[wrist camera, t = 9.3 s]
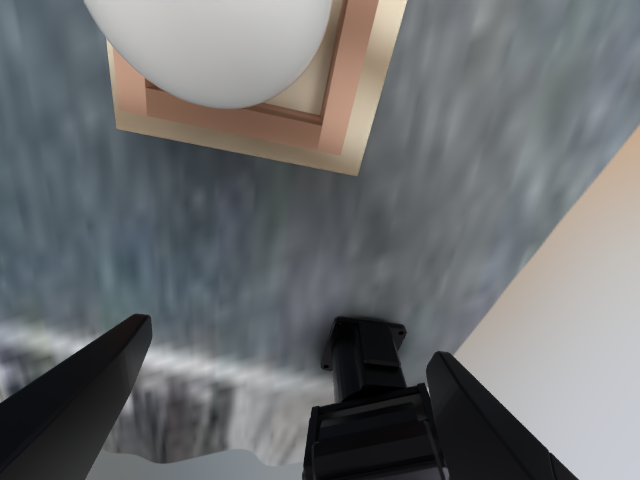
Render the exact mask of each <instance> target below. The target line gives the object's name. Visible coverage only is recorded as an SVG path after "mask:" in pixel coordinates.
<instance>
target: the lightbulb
mask: <svg viewBox="0 0 640 480" xmlns="http://www.w3.org/2000/svg"><path fill="white" fill-rule="evenodd" d="M83 2H84V4H85V5H86V7H87V9H88V11H89V13H90V14H91V16H92V18H93V19H94V21H95V23H96V24H97V26H98V27H99V29H100V30H101V32H102V33H103V34H104V36H105V37H106V38H107V40H108V41H109V42H110V44H111V45H112V46H113V47H114V49H115V50H116V51H117V52H118V53H119V54H120V55H121V56H122V57H123V59H124V60H125V61H126V62H127V63H128V64H130V65H131V66H132V67H133V68H134V69H135V70H136V71H137V72H138V73H140V74H141V75H142V76H143V77H145V78H146V79H147V80H148V81H150V82H151V83H153V84H154V85H156V86H157V87H159V88H160V89H162V90H164V91H165V92H167V93H169V94H171V95H173V96H175V97H177V98H179V99H182V100H184V101H187V102H190V103H193V104H196V105H200V106H204V107H210V108H217V109H239V108H246V107H251V106H254V105H258V104H261V103H263V102H266V101H268V100H270V99H272V98H274V97H276V96H278V95H279V94H281V93H282V92H284V91H285V90H286V89H288V88H289V87H290V86H291V85H292V84H294V83H295V82H296V81H297V80H298V79H299V78H300V76H301V75H302V74H303V73H304V72H305V70H306V69H307V68H308V66H309V65H310V63H311V62H312V60H313V59H314V57H315V55H316V53H317V51H318V49H319V47H320V45H321V43H322V40H323V38H324V35H325V32H326V29H327V26H328V22H329V19H330V14H331V9H332V3H333V0H83Z"/></svg>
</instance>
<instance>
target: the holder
mask: <svg viewBox="0 0 640 480" xmlns="http://www.w3.org/2000/svg"><path fill="white" fill-rule="evenodd" d="M406 3H407V0H333V3H332V9H331V14H330V19H329V22H328V26H327V29H326V32H325V35H324V38H323V40H322V43H321V45H320V47H319V49H318V51H317V53H316V55H315V57H314V59H313V60H312V62H311V63H310V65H309V66H308V68H307V69H306V70H305V72H304V73H303V74H302V75H301V76H300V78H299V79H298V80H297V81H296V82H295V83H294V84H292V85H291V86H290V87H289V88H288V89H286V90H285V91H284V92H282V93H281V94H279V95H278V96H276V97H274V98H272V99H270V100H268V101H266V102H263V103H261V104H258V105H254V106H251V107H246V108H239V109H217V108H210V107H204V106H200V105H196V104H193V103H190V102H187V101H184V100H182V99H179V98H177V97H175V96H173V95H171V94H169V93H167V92H165V91H164V90H162V89H160V88H159V87H157V86H156V85H154V84H153V83H151V82H150V81H148V80H147V79H146V78H145V77H143V76H142V75H141V74H140V73H138V72H137V71H136V70H135V69H134V68H133V67H132V66H131V65H130V64H128V63H127V62H126V61H125V60H124V59H123V57H122V56H121V55H120V54H119V53H118V52H117V51H116V50H115V49H114V47H113V46H112V45H111V44H110V42H109V41H108V40H107V38H106V41H107V50H108V59H109V68H110V77H111V86H112V94H113V103H114V112H115V121H116V129H120V130H125V131H130V132H135V133H140V134H145V135H150V136H155V137H160V138H165V139H170V140H176V141H181V142H186V143H191V144H196V145H201V146H206V147H211V148H216V149H221V150H226V151H231V152H237V153H242V154H247V155H252V156H257V157H262V158H267V159H272V160H277V161H282V162H287V163H292V164H297V165H303V166H308V167H313V168H318V169H323V170H328V171H333V172H338V173H343V174H348V175H353V176H358V172H359V169H360V165H361V162H362V158H363V155H364V151H365V148H366V144H367V141H368V137H369V134H370V130H371V127H372V123H373V119H374V116H375V112H376V109H377V105H378V102H379V98H380V95H381V91H382V88H383V84H384V81H385V77H386V73H387V70H388V66H389V63H390V59H391V56H392V52H393V49H394V45H395V42H396V38H397V35H398V31H399V28H400V24H401V20H402V17H403V13H404V10H405V6H406Z"/></svg>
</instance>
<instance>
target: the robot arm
mask: <svg viewBox="0 0 640 480" xmlns="http://www.w3.org/2000/svg"><path fill="white" fill-rule="evenodd" d="M339 323H342V324H339ZM400 331H401V332H400ZM406 333H407V332H406V329H405V327H404V326H400V325H393V324H385V323H378V322H370V321H362V320H355V319H347V318H337V319H335V321H334V324H333V327H332V330H331V333H330V336H329V339H328V342H327V345H326V349H325V352H324V355H323V358H322V361H321V368H322V369H323V370H329V371H333V382H334V394H335V404H330V405H326V406H321V407H320V406H315V407H312V411H311V418H310V420H309V427H308V434H307V442H306V449H305V457H304V464H303V467H304V470H303V473H302V480H579V479H578V478H576V477H575V476H574V475H573V474H572V473H571V472H570V471H569V470H568V469H567V468H566V467H565V466H564V465H563V464H562V463H561V462H560V461H559V460H558V459H557V458H556V457H555V456H554V455H553V454H552V453H549V451H548V449H547V448H546V447H545V446H543V445H542V443H541V442H540V441H538V440H537V438H536V437H534V435H532V434H531V433H530V432H529V431H528V430H527V429H526V428H525V427H524V426H523V425H522V424H521V423H520V422H519V421H518V420H517V419H516V418H515V417H514V416H513V415H512V414H511V413H510V412H509V411H508V410H507V409H506V408H505V407H504V406H503V405H502V404H501V403H500V402H499V401H498V400H497V399H496V398H495V397H494V396H493V395H492V394H491V393H490V392H489V391H488V390H487V389H486V388H485V387H484V386H483V385H482V384H481V383H480V382H479V381H478V380H477V379H476V378H475V377H474V376H473V375H472V374H471V373H470V372H469V371H468V370H467V369H466V368H465V367H463V366H462V364H460V362H458V361H457V360H456V359H455V358H454V357H453V356H452V355H451V354H450V353H448V352H443V351H437V352H435V353H434V355H433V357H432V359H431V360H430V362H429V364H428V366H427V368H426V375H427V381H428V387H429V393H430V396H429V394H428V391H427V388H426V386H425V383H420V384H417V386H412V387H408V388H407V385H406V382H405V378H404V375H403V372H402V368H401V362H400V359H399V356H398V353H397V352H398V350H399V348H400V346H401V344H402V342H403V340H404V338H405V336H406ZM151 340H152V323H151V317H150V316H149V315H145V314H134V315H132V316H130V317H129V318H127V319H126V320H124V321H123V322H121V323H120V324H118V325H117V326H115V327H114V328H112V329H111V330H109V331H108V332H106V333H105V334H103V335H102V336H100V337H99V338H97V339H96V340H94V341H93V342H91V343H90V344H88V345H87V346H85V347H84V348H82V349H81V350H79V351H78V352H76V353H75V354H73V355H72V356H70V357H69V358H67V359H66V360H64V361H63V362H61V363H60V364H58V365H57V366H55V367H54V368H52V369H51V370H49V371H48V372H46V373H45V374H43V375H42V376H40V377H39V378H37V379H36V380H34V381H33V382H31V383H30V384H28V385H27V386H25V387H24V388H22V389H21V390H19V391H18V392H16V393H15V394H13V395H12V396H10V397H9V398H7V399H6V400H4V401H3V402H1V403H0V480H85V479H86V477H87V475H88V473H89V471H90V469H91V467H92V465H93V463H94V462H95V460H96V458H97V456H98V454H99V452H100V450H101V448H102V446H103V445H104V443H105V441H106V439H107V437H108V435H109V433H110V431H111V429H112V428H113V426H114V424H115V422H116V420H117V418H118V416H119V414H120V412H121V410H122V409H123V407H124V405H125V403H126V401H127V399H128V397H129V395H130V393H131V391H132V388H133V386H134V383H135V381H136V378H137V376H138V373H139V371H140V368H141V366H142V363H143V361H144V358H145V356H146V353H147V351H148V348H149V346H150V343H151Z"/></svg>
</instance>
